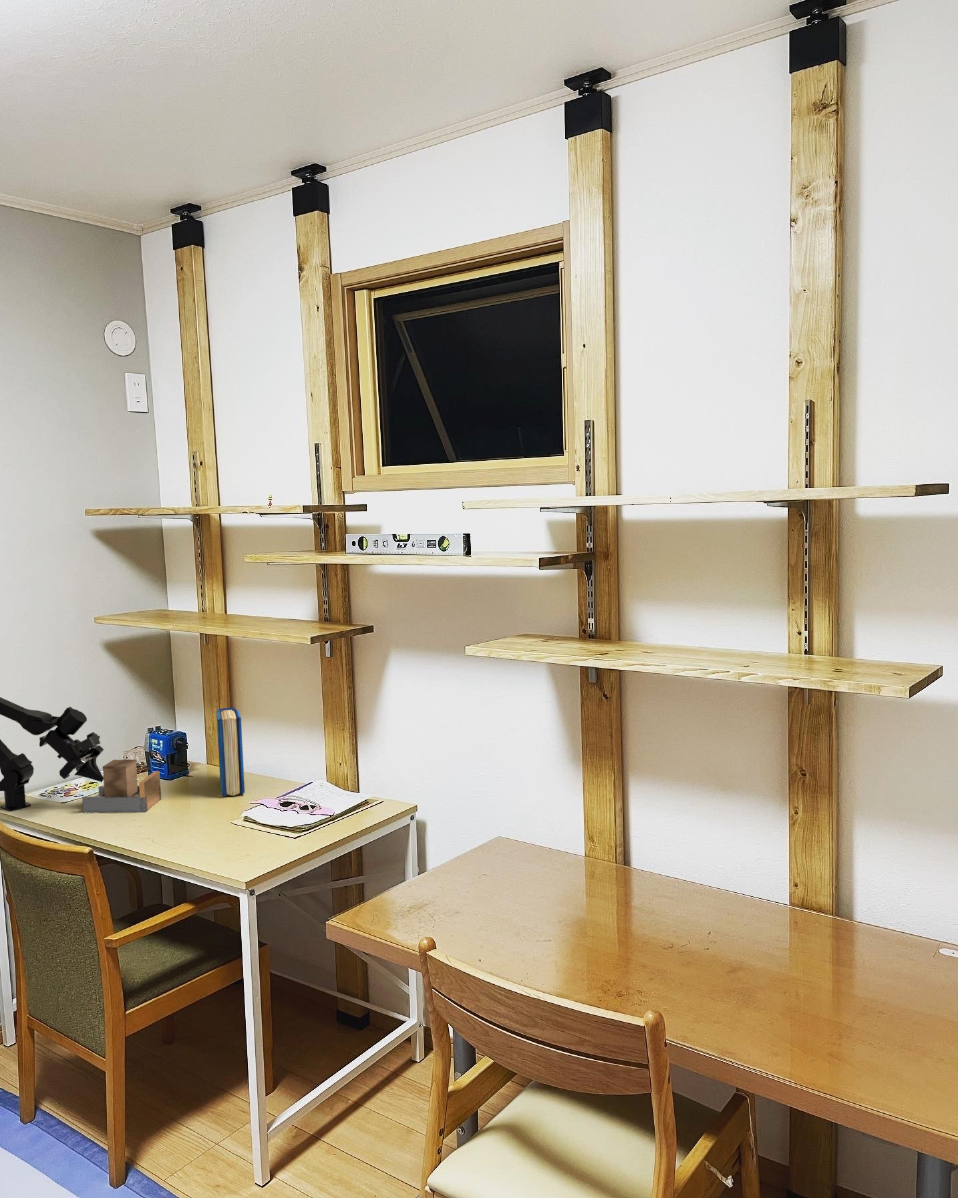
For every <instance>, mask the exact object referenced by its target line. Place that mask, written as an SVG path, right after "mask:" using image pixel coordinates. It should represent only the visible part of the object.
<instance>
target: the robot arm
mask: <svg viewBox="0 0 958 1198" xmlns="http://www.w3.org/2000/svg"><path fill="white" fill-rule="evenodd" d="M0 715H1V716H3V717H4V718H6V719H9V720H11V721H14V722H16V723H17V724H19V725H20V727H21V728H22V729H23V730H25V731H26V732H28V733H29V734H31V735H33V736H39V735H42V734H44V733H46V732H47V733H46V734H45V735H42V736H40V737H39V738H38V739H39V744H38V745H39V747H40V748H42V747H43V746H46V745H48V746H49V747H51V748H52V749H53V751H55V752H56V753H57V754H58V755H57V758H58V759H59V760H60V759H64V760H65V761H66V763H65V764H64V765H63V766H62V768H60V770H58V771H59V773H58V774H59V776H60V778H62V779H63V780H66V779H68V778H69V777H70V774H71V773H72V772H73V771H74V770H75V771H76V772H75V773H74V776H77V777H78V776H79V777H82V778H83V777H84V778H85V779H86V778H87V779H90V780H93V781H97V782H100V783H102V782H104V778H103V773H102V772H101V770H100V768H99V767H98V765H97V759H98V757H99V756H100V755H101V754H102V753H103V752H104V749H105V748H103V747H102V746H101V745H100V744H101V741H100V738H101V737H100V736H101V735H99V734H97V733H96V732H94V731H92V732H91V733H88V734H87V735H86V739H83V740H82V741H81V740H80V739H73V738H72V737H71V736H74V735H76V733H78V731H80V729H81V728H82V727H83V725H85V723H86V722H87V721H88V719H87V716H86V715H85V713H83V711H81V710H79V709H75V708H73V707H72V706H68V707H66V708H65V710H64V711H63V713H62V714H61V715H60V716H57V715H56V716H55V715H52V714H51V713H49V712H46V711H42V710H37V709H28V708H25V707H23V706H21V705H20V704H19V705H18V704H17V703H14V702H13V701H10V700H8V699H5V698H3V697H2V696H0ZM55 727H56V728H55ZM53 728H54V729H53ZM32 763H33V761H31V760H30V759H29V758H28V757H27V756H26V754H25V753H23V752H21V753H20V754H16V753H14V752H13V751H12V750H11V749H10V748H9V747H8V746H7V744H5V743H4V742H3V741H2V739H0V773H1V775H2V777H3V778H2V779H1V780H0V792H3V795H4V804H2V805H0V808H1V809H4V810H6V811H9V812H12V811H15V810H18V809H22V808H26V807H30V806H32V805H31V803H29V802H27V801H26V799H27V798H26V789H25V787H26V786H25V785H26V784H29V782H30V780H31V778H32V776H34V771H35V768H34V766H33V764H32Z"/></svg>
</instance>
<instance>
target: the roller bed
mask: <svg viewBox="0 0 958 1198" xmlns="http://www.w3.org/2000/svg"><path fill="white" fill-rule="evenodd" d="M160 775H161V774H160V770H155V771H153V772H152V773H150V774H149V775H148V776H146V777H144V778H143V779H142V780H141V781H139V782H138V785H137V786H138V792H136V793H135V794H134V795H132V796H105V793H104V785H100V786H98V793H97V794H96V795H94V796H83V797H82V811H83V812H82V813H84V814H85V812H87V813H88V812H90V813H94V812H98V813H147V812H148V811H149V810H150V809H152V808H153V807H154V806H155V805H156V804H158V803H159V802H160V801H161V800H162V791H161V776H160ZM152 806H153V807H152Z"/></svg>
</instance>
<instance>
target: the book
mask: <svg viewBox="0 0 958 1198" xmlns="http://www.w3.org/2000/svg"><path fill="white" fill-rule="evenodd" d="M216 729H217V732H216V733H217V749H218V762H219V763H218V766H219V780H220V781H219V783H220V792H221V796H223V797H226V796H227V795H228V796H236V795H239V794H241V795H244V794H245V792H246V791H245V789H246V787H245V770H244V767H245V765H244V752H243V751H244V750H243V732H242V731H243V729H242V717H241V713H240V711H239V710H238V709H237V708H235V707H223V708H222V707H221V708H219V709H217V710H216Z"/></svg>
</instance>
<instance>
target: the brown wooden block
mask: <svg viewBox="0 0 958 1198" xmlns="http://www.w3.org/2000/svg"><path fill="white" fill-rule="evenodd" d="M137 769H138V768H137V759H113V760H111V761H109V762H108V763H106V764H104V765H103V766H102V776H103V778H104V780H103V786H104V793H105V796H132V795H134V794H135V793H136V792H138V786H139V785H138V773H137V771H138V770H137Z"/></svg>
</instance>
